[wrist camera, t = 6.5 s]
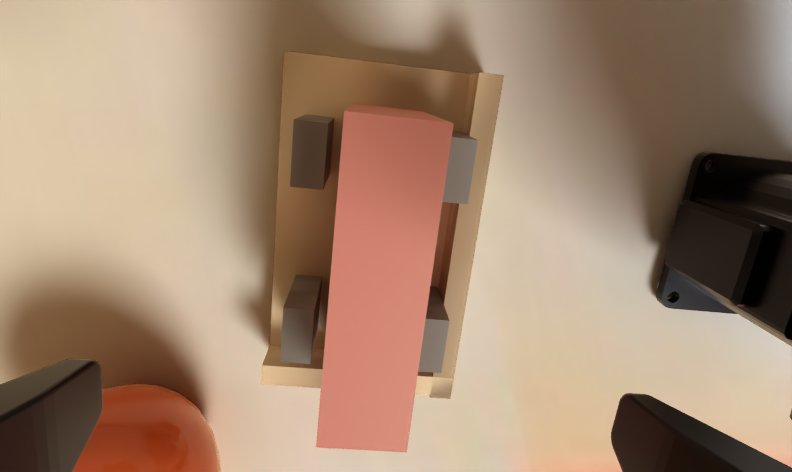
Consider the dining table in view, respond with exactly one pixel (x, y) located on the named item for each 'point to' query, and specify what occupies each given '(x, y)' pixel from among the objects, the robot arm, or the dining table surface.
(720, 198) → the robot arm
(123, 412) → the tomato
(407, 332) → the pink rectangular block
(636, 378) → the dining table surface
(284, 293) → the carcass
